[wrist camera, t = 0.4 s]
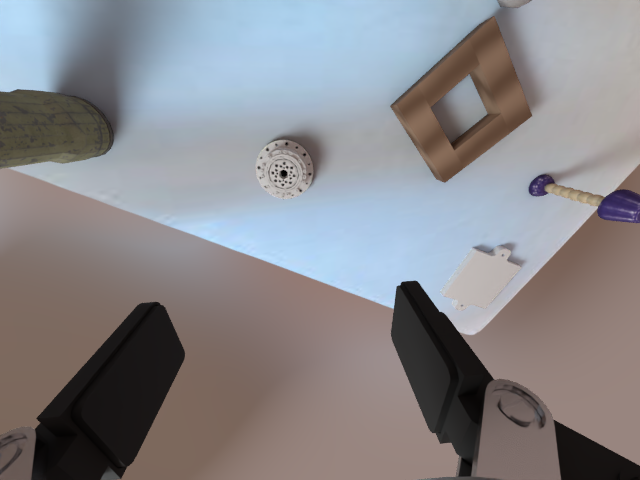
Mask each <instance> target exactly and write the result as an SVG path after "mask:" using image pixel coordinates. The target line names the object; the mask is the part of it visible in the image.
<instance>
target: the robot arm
mask: <svg viewBox="0 0 640 480" xmlns="http://www.w3.org/2000/svg"><path fill="white" fill-rule="evenodd" d="M391 337H392V341H393V343H394V346H395V348H396V351H397V353H398V356H399V358H400V360H401V363H402V365H403V367H404V370H405V372H406V375H407V377H408V380H409V382H410V384H411V387H412V389H413V392H414V394H415V396H416V399H417V401H418V404H419V406H420V409H421V411H422V413H423V416H424V418H425V421H426V423H427V426H428V428H429V429H430V431H431V432H432V433H436V435H437V437H438V440H439V442H440V444H441V443H452V445H453V447H454V449H455V451H456V453H457V454H458V455H459V460H458V466H457V472H456V477H442V478H431V479H421V480H640V466H639V465H637V464H635V463H633V462H632V461H629V460H628V459H626V458H624V457H622V456H620V455H618V454H617V453H615V452H613V451H611V450H609V449H607V448H605V447H604V446H602V445H600V444H598V443H596V442H594V441H592V440H591V439H589V438H587V437H585V436H583V435H581V434H579V433H577V432H576V431H574V430H572V429H570V428H568V427H566V426H564V425H563V424H560V423H559V422H557V421H555V420H553V417H552V414H551V413H550V411H549V409H548V408H547V406H546V405H545V404H544V403H543V401H541V399H540V398H539V397H538V396H537V395H535V394H534V393H533V392H531V391H530V390H528V389H527V388H526V387H524V386H522V385H520V384H518V383H516V382H513V381H510V380H504V379H497V380H494V379H493V377H492V376H491V375H490V373H489V372H488V371H487V370H486V368H485V367H484V365H483V364H482V363H481V361H480V360H479V359H478V357H477V356H476V355H475V353H474V352H473V351H472V349H471V348H470V347H469V345H468V344H467V343H466V341H465V340H464V339H463V337H462V336H461V335H460V333H459V332H458V331H457V329H456V328H455V326H454V325H453V324H452V322H451V321H450V320H449V318H448V317H447V316H446V315H445V314H444V313H442V312H439V310H438V309H437V308H436V306H435V305H434V303H433V302H432V301H431V299H430V298H429V297H428V295H427V294H426V292H425V291H424V290H423V288H422V287H421V286H420V284H419V283H418V282H417V281H406V282H402V283H401V285H400V286H397V289H396V297H395V305H394V313H393V322H392V330H391ZM184 357H185V352H184V349H183V347H182V344H181V342H180V340H179V338H178V336H177V333H176V331H175V329H174V327H173V324H172V322H171V320H170V318H169V315H168V313H167V311H166V309H165V307H164V306H163V305H160V303H158V302H150V303H141V304H139V305H138V306H137V307H136V308H135V309H134V310H133V311H132V312H131V313H130V315H129V316H128V317H127V318H126V319H125V320H124V321H123V322H122V324H121V325H120V326H119V327H118V328H117V329H116V330H115V331H114V332H113V334H112V335H111V336H110V337H109V338H108V339H107V340H106V341H105V342H104V344H103V345H102V346H101V347H100V348H99V349H98V350H97V351H96V353H95V354H94V355H93V356H92V357H91V358H90V359H89V360H88V361H87V363H86V364H85V365H84V366H83V367H82V368H81V369H80V370H79V371H78V373H77V374H76V375H75V376H74V377H73V378H72V380H70V382H69V383H68V384H67V385H66V386H65V387H64V388H63V389H62V390H61V392H60V393H59V394H58V395H57V396H56V397H55V398H54V399H53V401H52V402H51V403H50V404H49V405H48V406H47V407H46V408H45V409H44V411H43V412H42V413H41V414H40V415H39V416H38V417H37V419H38V421H39V422H40V424H39V425H38V426H37V428H36V429H33V428H31V427H20V428H16V429H13V430H11V431H8V432H7V433H4V434H2V435H0V480H116V479H121V478H122V476H123V474H124V472H125V470H126V468H127V466H129V465H130V464H131V463H132V462H133V461H134V459H135V457H136V456H137V454H138V451H139V450H140V448H141V446H142V444H143V442H144V439H145V438H146V435H147V433H148V431H149V429H150V427H151V425H152V423H153V421H154V419H155V417H156V415H157V413H158V411H159V409H160V407H161V405H162V403H163V401H164V399H165V397H166V395H167V393H168V391H169V389H170V387H171V385H172V383H173V381H174V379H175V377H176V375H177V373H178V371H179V369H180V367H181V365H182V363H183V361H184ZM419 480H420V479H419Z"/></svg>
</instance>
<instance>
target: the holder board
mask: <svg viewBox="0 0 640 480" xmlns="http://www.w3.org/2000/svg"><path fill="white" fill-rule="evenodd" d="M468 74H470V76H471V78H472V80H473V82H474V84H475V87H476V89H477V91H478V93H479V95H480V98H481V100H482V102H483V104H484V106H485V108H486V111H487V113H488V114H487V115H486V116H485V117H484V118H482V119H481V120H480V121H479V122H477V123H476V124H475V125H474V126H473V127H471V128H470V129H469V130H468V131H466V132H465V133H464V134H463V135H461V136H460V137H459V138H458V139H456V140H455V141H454V142H453V143H451V144H450V142H449V140H448V138H447V137H446V135H445V133H444V131H443V129H442V128H441V126H440V124H439V122H438V121H437V119H436V117H435V115H434V113H433V112H432V110H431V108H430V107H431V106H433V105H434V104H435V103H436V102H437V101H438V100H439V99H441V98H442V97H443V96H444V95H445V94H446V93H448V92H449V91H450V90H451V89H452V88H453V87H454V86H456V85H457V84H458V83H459V82H460V81H461V80H462V79H464V78H465V77H466V76H467V75H468ZM390 107H391V108H392V110H393V111H394V113H395V114H396V116H397V118H398V119H399V121H400V122H401V124H402V126H403V127H404V129H405V130H406V132H407V134H408V135H409V137H410V138H411V140H412V141H413V143H414V145H415V146H416V148H417V149H418V151H419V153H420V154H421V156H422V157H423V159H424V160H425V162H426V164H427V165H428V167H429V168H430V170H431V172H432V173H433V175H434V176H435V178H436V179H437V180H440V181H442V182H444V183H445V182H446V181H448V180H449V179H450V178H452V177H453V176H454V175H456V174H457V173H458V172H459V171H461V170H462V169H463V168H465V167H466V166H467V165H469V164H470V163H471V162H473V161H474V160H475V159H476V158H478V157H479V156H480V155H482V154H483V153H484V152H486V151H487V150H488V149H490V148H491V147H492V146H493V145H495V144H496V143H497V142H499V141H500V140H501V139H503V138H504V137H505V136H507V135H508V134H509V133H510V132H512V131H513V130H514V129H516V128H517V127H518V126H520V125H521V124H522V123H524V122H525V121H526V120H527V119H529V118H530V117H531V116H532V114H531V112H530V109H529V106H528V104H527V101H526V98H525V96H524V93H523V90H522V88H521V85H520V82H519V80H518V77H517V75H516V72H515V69H514V67H513V64H512V61H511V59H510V56H509V53H508V51H507V48H506V45H505V43H504V40H503V37H502V35H501V32H500V30H499V27H498V24H497V22H496V19H495V16H493V17H492V18H490V19H488V20H486V21H484V22H483V23H481V24H479V25H478V26H477V27H476V28H475V29H474V30H473V31H472V32H470V33H469V34H468V35H467V36H466V37H465V38H464V39H463V40H462V41H461V42H460V43H458V44H457V45H456V46H455V47H454V48H453V49H452V50H451V51H450V52H449V53H447V54H446V55H445V56H444V57H443V58H442V59H441V60H440V61H439V62H438V63H437V64H435V65H434V66H433V67H432V68H431V69H430V70H429V71H428V72H427V73H426V74H425V75H423V76H422V77H421V78H420V79H419V80H418V81H417V82H416V83H415V84H414V85H413V86H411V87H410V88H409V89H408V90H407V91H406V92H405V93H404V94H403V95H402V96H401V97H399V98H398V99H397V100H396V101H395V102H394V103H393V104H392V105H391V106H390Z"/></svg>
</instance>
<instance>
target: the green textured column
mask: <svg viewBox="0 0 640 480" xmlns="http://www.w3.org/2000/svg"><path fill="white" fill-rule="evenodd" d="M112 143H113V132H112V129H111V126H110V123H109V122H108V120H107V119H106V117H105V116H104V114H103V113H102V112H101V111H100V110H99V109H98V108H97V107H96V106H94V105H93V104H91V103H90V102H88V101H87V100H84V99H81V98H78V97H75V96H66V95H63V94H60V93H53V92H44V91H34V90H19V89H17V90H15V91H12V92H0V169H1V168H8V167H15V166H22V165H28V164H35V163H41V162H48V161H52V162H57V163H62V164H63V163H69V162H75V161H81V160H86V159H89V158H92V157H98V156H101V155H104V154H106V153H107V152H108V151H109V150H110V149H111V146H112Z"/></svg>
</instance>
